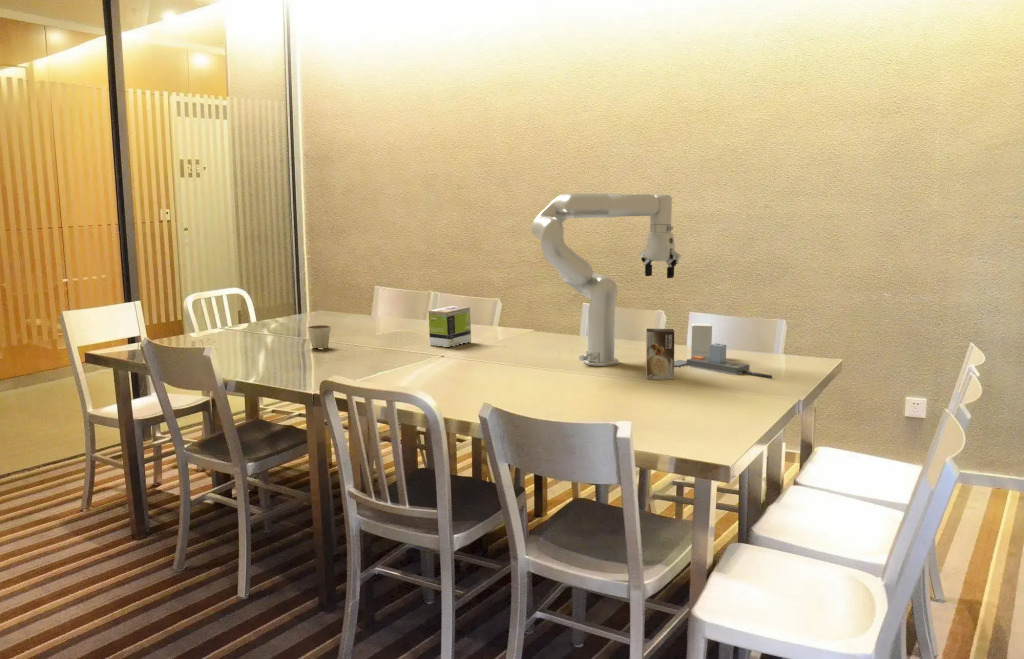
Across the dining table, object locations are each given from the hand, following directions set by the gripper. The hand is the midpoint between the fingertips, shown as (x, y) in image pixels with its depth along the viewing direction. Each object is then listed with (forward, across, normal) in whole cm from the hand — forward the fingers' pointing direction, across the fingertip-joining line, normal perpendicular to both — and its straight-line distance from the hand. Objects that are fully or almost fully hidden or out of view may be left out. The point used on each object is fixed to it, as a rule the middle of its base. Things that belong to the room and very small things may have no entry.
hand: (659, 276), depth 306 cm
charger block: (+30, -25, -1) cm, 39 cm away
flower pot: (+31, +107, +77) cm, 135 cm away
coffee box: (+31, -19, +24) cm, 43 cm away
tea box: (+31, +77, +35) cm, 90 cm away
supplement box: (+31, -10, -13) cm, 35 cm away
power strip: (+30, -31, -1) cm, 43 cm away
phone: (+31, -11, +2) cm, 33 cm away
